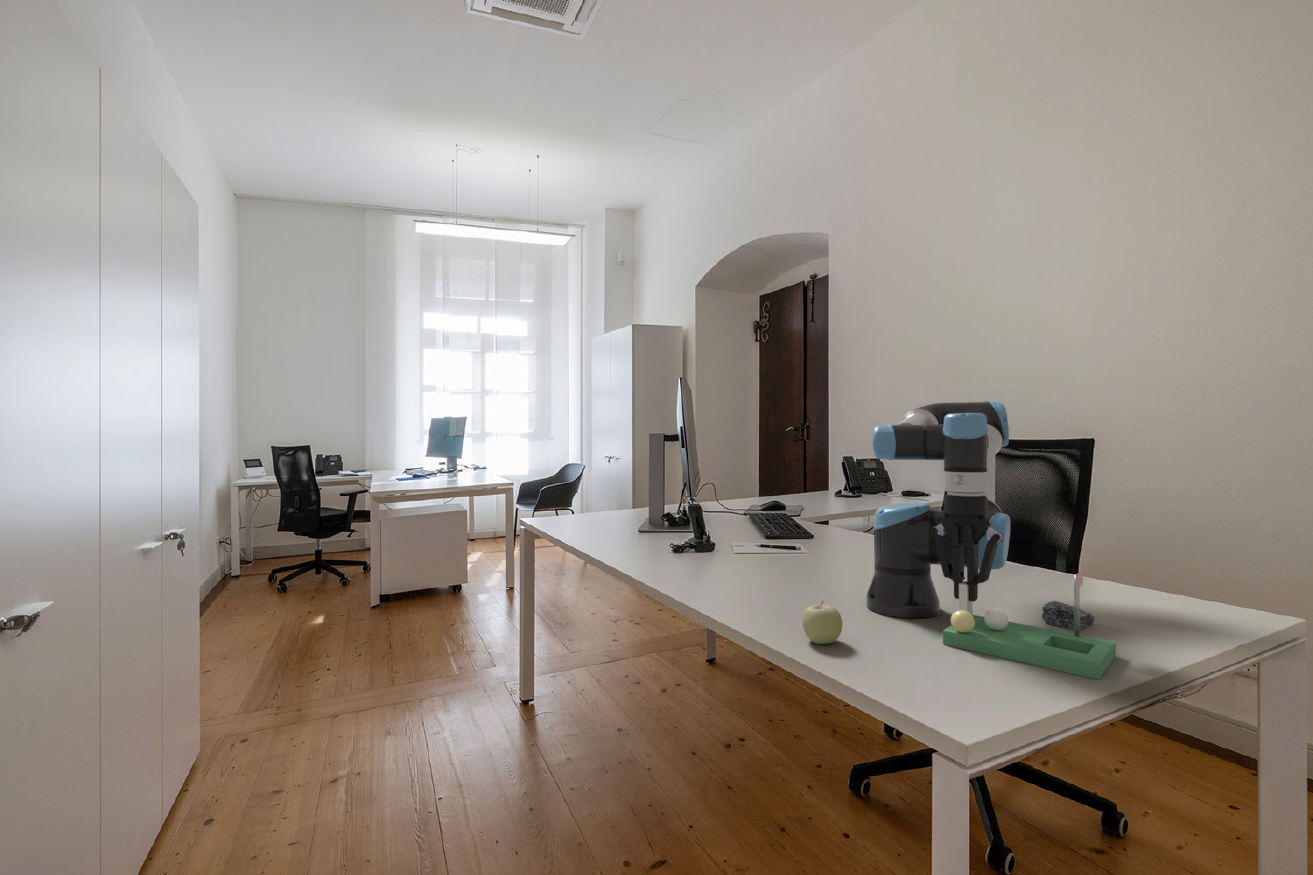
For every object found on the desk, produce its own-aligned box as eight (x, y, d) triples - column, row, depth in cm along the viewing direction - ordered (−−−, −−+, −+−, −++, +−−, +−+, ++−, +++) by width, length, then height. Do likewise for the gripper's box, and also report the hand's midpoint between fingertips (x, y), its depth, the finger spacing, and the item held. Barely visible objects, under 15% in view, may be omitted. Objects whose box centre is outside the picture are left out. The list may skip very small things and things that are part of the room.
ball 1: (947, 632, 114) (947, 610, 114) (955, 627, 117) (955, 606, 117) (970, 637, 112) (970, 615, 112) (978, 631, 114) (978, 610, 114)
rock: (1102, 623, 127) (1102, 603, 127) (1078, 633, 121) (1078, 611, 121) (1062, 614, 133) (1062, 595, 133) (1037, 622, 128) (1037, 602, 128)
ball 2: (980, 629, 116) (980, 608, 115) (988, 625, 118) (987, 604, 118) (1004, 634, 113) (1004, 612, 113) (1011, 629, 116) (1011, 608, 115)
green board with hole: (942, 643, 116) (942, 630, 116) (969, 626, 125) (969, 613, 125) (1099, 679, 99) (1099, 663, 99) (1115, 656, 108) (1115, 641, 108)
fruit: (849, 647, 115) (849, 603, 114) (812, 650, 113) (811, 606, 113) (831, 633, 122) (831, 593, 122) (795, 636, 121) (795, 595, 121)
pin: (1073, 635, 112) (1073, 574, 112) (1079, 630, 115) (1079, 570, 115) (1079, 636, 111) (1079, 575, 111) (1084, 631, 114) (1084, 571, 114)
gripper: (922, 493, 121) (923, 614, 121) (995, 497, 112) (996, 628, 112) (938, 490, 126) (938, 606, 126) (1009, 494, 117) (1009, 619, 117)
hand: (965, 616), depth 119 cm, fingers closed
